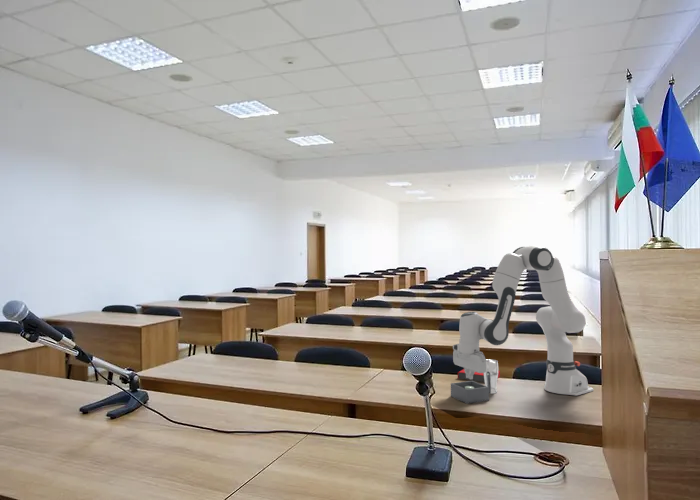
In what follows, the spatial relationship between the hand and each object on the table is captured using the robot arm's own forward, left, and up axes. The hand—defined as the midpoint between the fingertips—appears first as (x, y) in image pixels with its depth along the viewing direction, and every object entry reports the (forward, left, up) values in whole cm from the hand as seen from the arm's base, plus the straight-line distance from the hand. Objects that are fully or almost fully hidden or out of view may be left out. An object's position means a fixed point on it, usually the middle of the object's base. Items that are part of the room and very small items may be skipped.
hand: (469, 378), depth 216 cm
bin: (0, 0, -9) cm, 9 cm away
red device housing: (-24, -25, -10) cm, 36 cm away
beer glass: (-15, -4, -9) cm, 18 cm away
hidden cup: (0, 0, -8) cm, 8 cm away
